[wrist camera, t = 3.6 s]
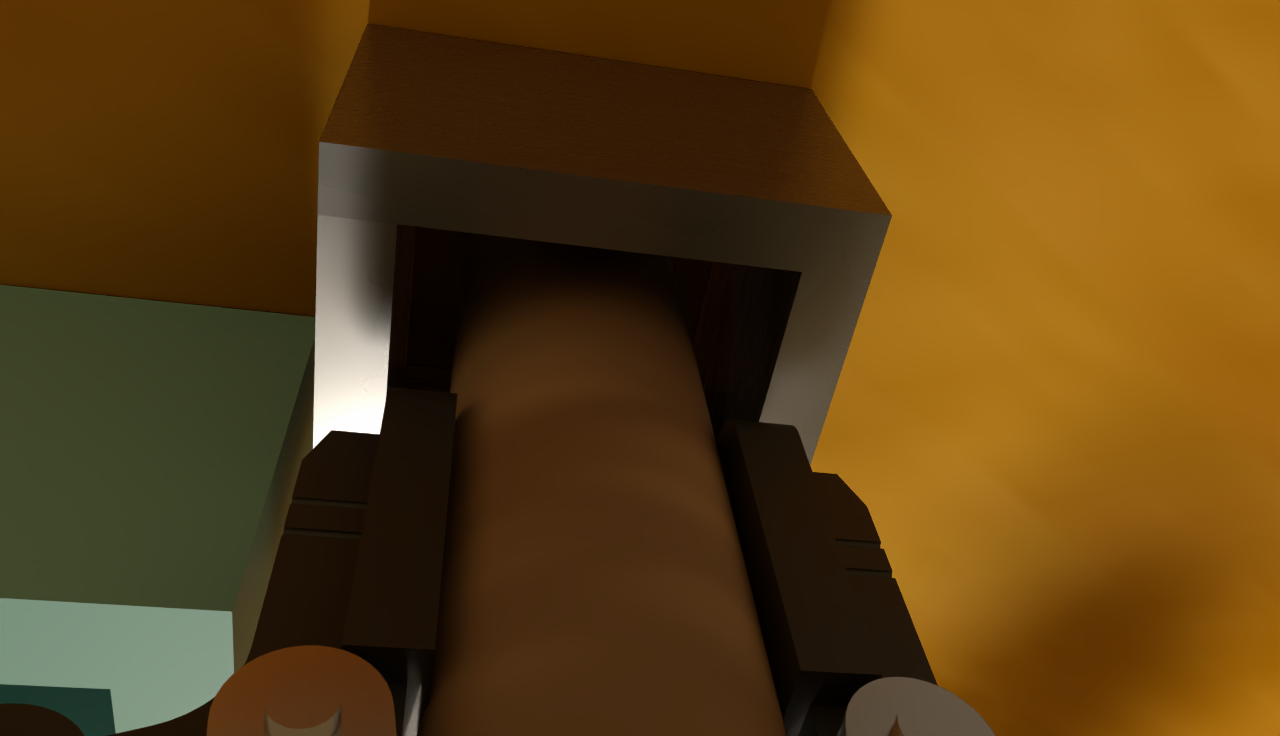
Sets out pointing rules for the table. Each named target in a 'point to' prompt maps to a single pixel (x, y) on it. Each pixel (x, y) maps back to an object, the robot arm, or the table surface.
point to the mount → (591, 210)
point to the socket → (141, 496)
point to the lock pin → (588, 512)
